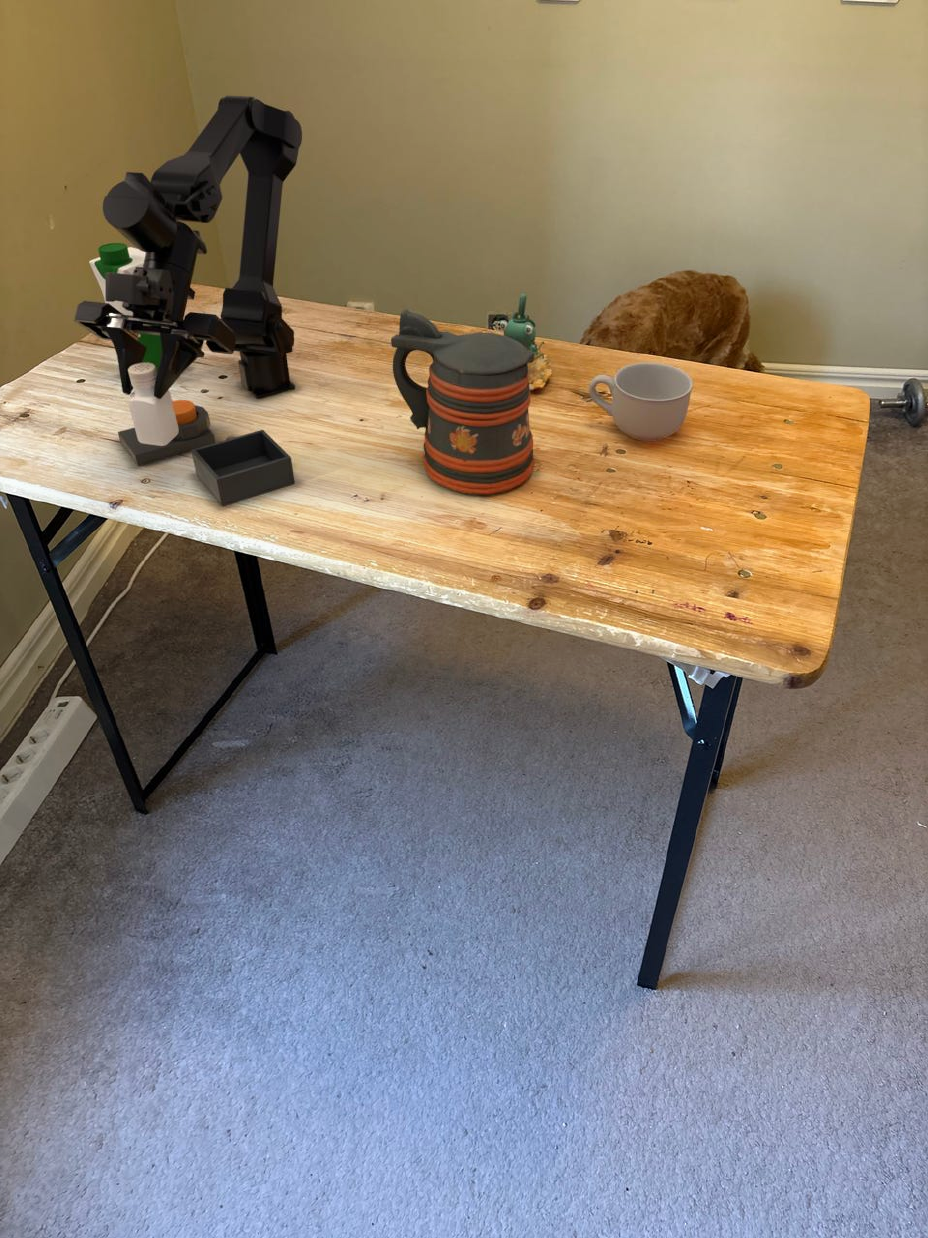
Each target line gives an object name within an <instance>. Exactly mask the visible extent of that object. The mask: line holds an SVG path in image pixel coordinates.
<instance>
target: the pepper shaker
mask: <svg viewBox="0 0 928 1238" xmlns="http://www.w3.org/2000/svg"><path fill="white" fill-rule="evenodd" d="M128 373H129V377H130V379H131V384H132V386H133V391H132V392H131V394H130V395H128V398H127V404H128V405H127V406H128V409H129V412H130V415H131V420H132V423H133V428H135V431H136V434H137V438H138V441H139V442H140V443H143V444H150V445H158V446H165V445H167V444H168V443H169V442H170V441H171V440H172V439H173V438H174V437H175V436H176V435H177V434H178V432H179V429H178V424H177V420H176V416H175V412H174V407H173V403H172V401H173V398H172V395H171V391H170V390H168V391H167V392H166V393H165V395H164V396H163V397H162V398H161V399H157V398H156V397H154V388H155V381H156V377H157V370H156V367H155V365H154V364H152V363H138V364H134V365H132V366H130V367H129V369H128Z"/></svg>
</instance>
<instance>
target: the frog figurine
mask: <svg viewBox="0 0 928 1238" xmlns="http://www.w3.org/2000/svg"><path fill="white" fill-rule="evenodd" d="M527 298H528V295H527V293H525V292H522V293H520V295H519V302H518V309H517V311H515V312H514V313H513V315H512V318H511V319H510V320H509V321H507V320H506V317H507V316H506V315H505V314H504V313H500V314H498V315H497V316H496V321H497V322H498V321H499V326H500V329H501V330H502V331H503V336H507V337H509V338H512V339H514V340H516V341H518V342H519V343H521V344H522V345H523V346H525V348H526V349H527V350H528V352H534V361H533V362H531V363H528V364H527V365H528V380H529V388H530V392H531V391H534V390H535V389H536V390H540V389H544V387H545V385H546V382H547V381H548V379H549V378H550V377H551V375H553V374H552V373H553V370H552V369H551V368H550V367H551V365H549V364H550V361H548V354H547V353H543V352H541V348H542V346H543V345H545V342H544V341H541V343H540V345H539V347H538V344H537V343H536V323H535V322H534V320H533V319H531V318H530V316H529V315H528V314H526V313H525V312H526V305H527ZM525 314H526V315H525ZM500 319H501V320H500Z"/></svg>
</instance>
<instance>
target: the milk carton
mask: <svg viewBox="0 0 928 1238" xmlns="http://www.w3.org/2000/svg"><path fill="white" fill-rule="evenodd" d="M97 250H98V255H99V257H96V258H93V259H91V260H89V265H90V268H91V270H92V272H93V274H94V277H95V278H96V280H97V283H98V285H99V287H100V290H101V292H102V295H103V296H102V297H103V300H104V303H109V304H110V305H111V306H113V307H114V308H115V309H117V310H118V311H119V312H121V313H122V314H123V315H130V316H133V312H131V311H127V310H126V309H125V308H123V307H122V303H123V302H121V301H114V302H108V301H105V272H110V273H120V274H130V275H133V270H134V269H135V268H136V267H143V264H144V259H145V254H146V252H143V251H140V250H139V249H137V248H136V247H132V246H129V247H128V246H127V244H125V243H122V242H111V243H110V242H109V243H105V244H102V245H100V246H99V247H98V248H97ZM143 326H146V325H143ZM138 337H139V338H138V341H139V342H140V343H141V344H143V345H144V346H146V347H147V350H146V353H145V356H144V359H143V362H142V363H152V364H154V365H155V367H156V370H157V372H158V368H159V363H160V359H161V354H162V344H161V337H160V335H152V334H143V333H139V336H138Z"/></svg>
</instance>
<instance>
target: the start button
mask: <svg viewBox="0 0 928 1238" xmlns="http://www.w3.org/2000/svg"><path fill="white" fill-rule="evenodd" d="M172 403H173V407H174V412H175V416H176V420H177V424H178V425H182V424H186V423H190V422H192V421H194V420H195V419H196V418H197V414H196V409H195V405H196V404H195V403H194V402H193V401H191V400H187V399H178V400H177V399H176V400H172Z"/></svg>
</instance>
